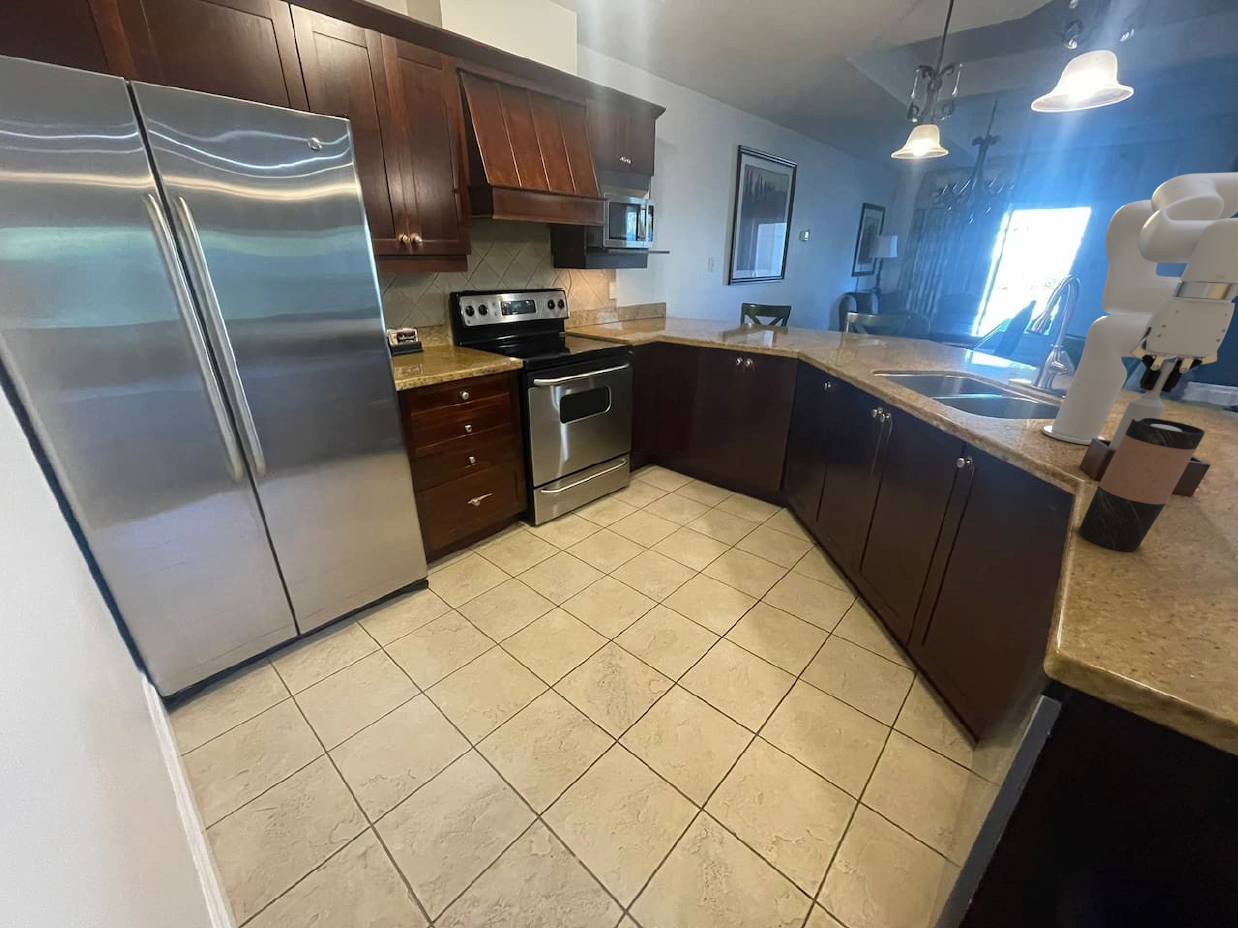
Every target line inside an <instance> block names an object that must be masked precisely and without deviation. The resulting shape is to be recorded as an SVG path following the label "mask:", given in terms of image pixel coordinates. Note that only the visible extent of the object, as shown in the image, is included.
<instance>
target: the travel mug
mask: <svg viewBox="0 0 1238 928" xmlns="http://www.w3.org/2000/svg"><path fill="white" fill-rule="evenodd" d="M1205 433H1206V431H1205V430H1204V429H1202V428H1199V427H1196V426H1193V425H1190V424H1186V423H1183V422H1179V421H1173V420H1167V419H1161V418H1159V419H1155V418H1144V419H1142V420H1140V421H1135V420H1134V419H1132V421H1131V423H1130V425H1129V427H1128V429H1127V431H1126V433H1125V435H1124V437H1123V439H1122V441H1121V443H1120V445H1119V447H1118V448H1117V450H1116V452H1115V454H1114V456H1113V458H1112V460H1111V462H1110V464H1109V466H1108V468H1107V470H1106V472H1105V474H1104V476H1103V478H1102V479H1101V481H1099V484H1098V486H1097V488H1096V490H1095V492H1094V495H1093V497H1092V499H1091V501H1090V504H1089V505H1088V507H1087V510H1086V512H1085V515H1084V516H1083V519H1082V521H1081V523H1080V526H1079V528H1078V533H1079V535H1080V536H1081V537H1083V538H1084V539H1086V540H1088V541H1090V542H1091V543H1093V544H1095V545H1098V546H1101V547H1105V548H1108V549H1110V550H1115V551H1121V552H1135V551H1136V550H1137V549H1138V548H1139V547H1140V545H1141V544H1142V542H1143V541H1144V539H1145V538H1146V536H1147V535H1148V532H1150V530H1151V529H1152V527H1153V525H1154V523H1155V522H1156V520H1157V518H1158V517H1159V515H1160V514H1161V512H1162V511H1163V508H1164V507H1165V506H1166V504H1167V503H1168V501H1169V499H1170V498H1171V495H1172V494H1173V493H1172V492H1173V490H1174V488H1175V486H1176V484H1177V483H1178V481H1179V479H1180V477H1181V475H1182V474H1183V472H1184V470H1185V468H1186V466H1187V465H1188V463H1189V461H1190V459H1191V457H1192V456H1193V455H1194V454H1195V453H1196V450H1197V449H1198V446H1199V445H1200V443H1201V441H1202V439H1203V438H1204V436H1205Z"/></svg>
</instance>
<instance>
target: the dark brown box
mask: <svg viewBox="0 0 1238 928" xmlns="http://www.w3.org/2000/svg"><path fill="white" fill-rule="evenodd" d="M1111 441H1112V440H1109V439H1105V440H1102V439H1095V438H1093V439H1092V441H1091V443H1090V445H1088V447H1087V449H1086V451H1085V454H1084V456H1083V457H1082V460H1081V462H1080V464H1079V466H1078V467H1079V468H1080V469H1081V470H1082V471H1083V472H1084V473H1086V474H1087V475H1088V477H1090V478H1091V479H1092V480H1093V481H1098V482H1100V481H1101V479H1102V478H1103V476H1104V474H1105V472H1106V470H1107V468H1108V466H1109V464H1110V462H1111V460H1112V458H1113V456H1114V454H1115V452H1116V450H1113V449H1111V448H1110V447H1109V445H1110V443H1111ZM1210 467H1211V463H1209V462H1206V461H1205V460H1203V459H1201V458H1200V457H1198V456H1195V455H1194V454H1193V456H1192V457H1191V459H1190V461H1189V463H1188V465H1187V466H1186V468H1185V470H1184V472H1183V474H1182V475H1181V477H1180V479H1179V481H1178V483H1177V484H1176V486H1175V488H1174V490H1173V492H1172V493H1171V494H1176V495H1181V496H1188V497H1193V496H1194V494H1195V492H1196V491H1197V489H1198V487H1199V485H1200V484H1201V483H1202V480H1203V479H1204V477H1205V475H1206V474H1207V472H1208V471H1209V469H1210Z"/></svg>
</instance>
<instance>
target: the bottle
mask: <svg viewBox="0 0 1238 928" xmlns="http://www.w3.org/2000/svg"><path fill="white" fill-rule="evenodd" d="M1174 362H1175V361H1174ZM1174 362H1173V361H1167V360H1163V362H1162V364H1161V366H1160V369H1159V371H1161V374H1160V376H1159V378H1158V380H1157V382H1156V384H1155V386H1154V388H1153V390H1151V391H1149V390H1145V393H1142V394H1141V396H1138V397H1135V398H1134V399H1130V400H1129V402H1128V403H1127V405H1126V408H1125V410H1124V413H1123V414H1122V417H1121V419H1120V422H1119V423H1118V425H1117V428H1116V430H1115V432H1114V434H1113V437H1112V439H1111V440H1110V441H1111V443H1110V445H1109V447H1110V448H1111V449H1113V450H1117V448H1118V447H1119V445H1120V443H1121V441H1122V439H1123V437H1124V435H1125V433H1126V431H1127V429H1128V427H1129V425H1130V423H1131V421H1132V419H1134V420H1135V421H1140V420H1142V419H1144V418H1155V419H1161V416H1162V414H1163V413H1164V411H1165V409H1166V405H1165V404H1164V403H1163V402H1162V401H1161V396H1160V394H1161V393H1162V392H1163V391H1162V389H1163V387H1164V385H1165V383H1166V381H1167V379H1168V377H1169V375H1170V373H1171V372H1172V370H1173V368H1174V366H1175V364H1176V363H1174Z"/></svg>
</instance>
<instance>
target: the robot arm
mask: <svg viewBox="0 0 1238 928" xmlns="http://www.w3.org/2000/svg"><path fill="white" fill-rule="evenodd" d="M1237 213H1238V171H1237V172H1235V171H1234V172H1203V173H1201V172H1198V173H1195V172H1194V173H1186V174H1181V175H1178V176H1177V175H1176V176H1174V177H1172V178H1170V179H1168V180H1166V181H1164V182H1163V183H1162V184H1160V185H1159V186H1158V187H1157V188H1156V189H1155V191H1154V192H1153V194H1152V196H1151V199H1143V200H1136V201H1133V202H1129V203H1126V204H1124V205H1123V206H1121V207H1119V208H1118V209H1117V210H1116V211H1115V212H1114V213H1113V215H1112V216H1111V219H1110V220H1109V222H1108V225H1107V229H1106V233H1105V237H1104V238H1105V239H1104V240H1105V241H1104V246H1105V253H1106V254H1105V255H1106V258H1107V264H1108V266H1107V271H1106V277H1105V283H1104V289H1103V291H1102V296H1101V297H1102V298H1101V309H1102V311H1103V312H1104V313H1106V314H1108V315H1105V316H1102V317H1099V318H1097V319H1096V320H1095V321H1093V322H1092V323H1091V325H1090V326H1089V328H1088V330H1087V333H1086V336H1085V342H1084V346H1083V349H1082V354H1081V357H1080V360H1079V363H1078V365H1077V368H1076V370H1075V372H1074V375H1073V376H1072V379H1071V382H1070V384H1069V386H1068V389H1067V392H1065V393H1066V394H1065V396H1064V398H1063V400H1062V403H1061V405H1060V407H1059V409H1058V412H1057V414H1056V416H1055V419H1054V422H1053V424H1052V425H1046V426H1044V427H1043V428H1042V433H1043V434H1044V435H1046V436H1048V437H1051V438H1053V439H1056V440H1060V441H1064V442H1068V443H1072V444H1077V445H1085V446H1089V445H1090V443H1091V441H1092V439H1093V438H1095V439H1102V440H1106V438H1105V437H1104V436H1102V435H1101V434H1102V433H1101V432H1102V430H1103V428H1104V427H1105V424H1106V422H1107V420H1108V418H1109V416H1110V414H1111V413H1112V410H1113V408H1114V407H1115V404H1116V401H1117V400H1118V397H1119V395H1120V393H1121V391H1122V389H1123V387H1124V385H1125V383H1126V381H1127V378H1128V370H1127V368H1126V366H1125V364H1124V362H1123V360H1122V358H1137V359H1138V360H1140V361H1141V362H1142V364H1143V366H1144V368H1145V369H1144V372H1143V374H1142V376H1141V379H1140V381H1139V388H1141V389H1142V390H1145V391H1147V390H1149V391H1151V390H1153V388H1154V386H1155V384H1156V382H1157V380H1158V378H1159V376H1160V374H1161V371H1159V369H1160V366H1161V364H1162V362H1163V361H1165V360H1171V359H1174V358H1175V360H1174V363H1176V364H1175V366H1174V368H1173V370H1172V372H1171V373H1170V375H1169V377H1168V379H1167V381H1166V383H1165V385H1164V387H1163V389H1162V391H1161V392H1164V393H1168V394H1169V393H1171V392H1172V391H1173V389H1175V388H1176V387H1177V386H1178V383H1179V381H1180V380H1181V377H1182V375H1183V374H1185V373H1187V372H1188V371H1189V370H1192V369H1193V368H1196V367H1198V366H1200V365H1206V364H1211V363H1215V362H1217V361H1218V350H1219V348H1220V346H1221V345H1222V343H1223V341H1224V338H1225V336H1226V334H1227V332H1228V329H1229V326H1230V325H1231V321H1232V317H1233V315H1234V310H1235V305H1236V303H1235V302H1232V301H1233V300H1235V298H1236V297H1238V217H1234V216H1235V215H1236V214H1237ZM1159 263H1161V264H1186V266H1185V269H1184V270H1183V272H1182V274H1181V276H1163V275H1158V274H1157V267H1158V264H1159Z"/></svg>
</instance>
